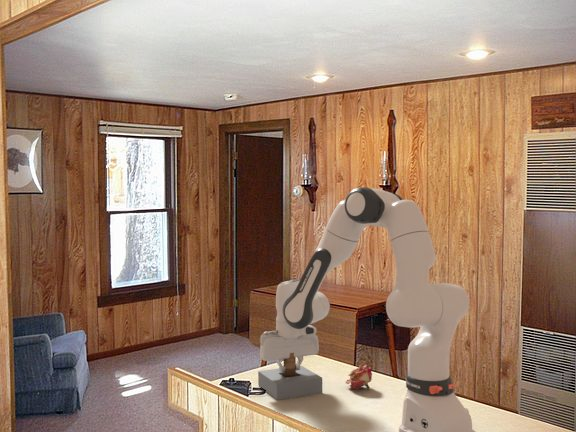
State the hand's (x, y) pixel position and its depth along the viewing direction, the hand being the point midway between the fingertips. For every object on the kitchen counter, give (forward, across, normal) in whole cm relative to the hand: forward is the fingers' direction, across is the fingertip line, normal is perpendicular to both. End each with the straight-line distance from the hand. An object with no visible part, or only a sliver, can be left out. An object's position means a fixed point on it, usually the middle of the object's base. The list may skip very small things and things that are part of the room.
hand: (289, 370), depth 195 cm
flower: (+6, +21, -9) cm, 24 cm away
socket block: (+6, 0, 0) cm, 6 cm away
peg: (+4, 0, 0) cm, 4 cm away
